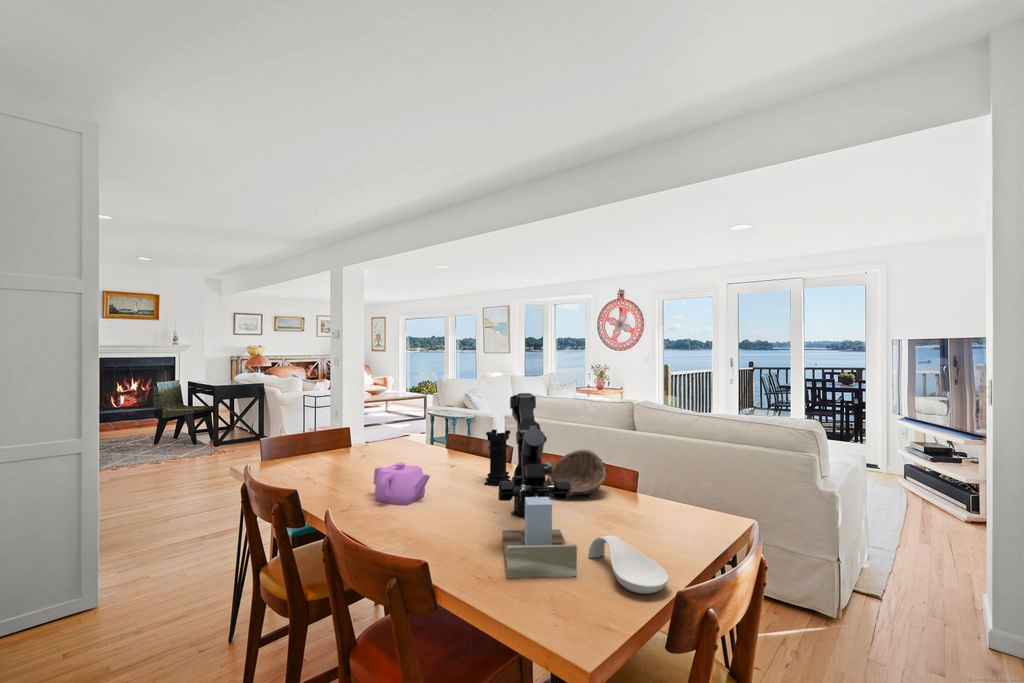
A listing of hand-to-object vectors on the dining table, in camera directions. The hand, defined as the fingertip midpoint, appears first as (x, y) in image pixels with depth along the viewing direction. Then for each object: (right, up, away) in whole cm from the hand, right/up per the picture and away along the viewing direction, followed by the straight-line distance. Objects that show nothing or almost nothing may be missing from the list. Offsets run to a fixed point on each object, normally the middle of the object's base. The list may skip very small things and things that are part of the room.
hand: (536, 521), depth 126 cm
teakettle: (-44, -9, +47) cm, 65 cm away
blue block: (0, -7, -3) cm, 8 cm away
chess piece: (-12, -10, +66) cm, 68 cm away
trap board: (0, -9, 0) cm, 9 cm away
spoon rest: (+20, -9, -11) cm, 24 cm away
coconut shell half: (+18, -10, +51) cm, 55 cm away
